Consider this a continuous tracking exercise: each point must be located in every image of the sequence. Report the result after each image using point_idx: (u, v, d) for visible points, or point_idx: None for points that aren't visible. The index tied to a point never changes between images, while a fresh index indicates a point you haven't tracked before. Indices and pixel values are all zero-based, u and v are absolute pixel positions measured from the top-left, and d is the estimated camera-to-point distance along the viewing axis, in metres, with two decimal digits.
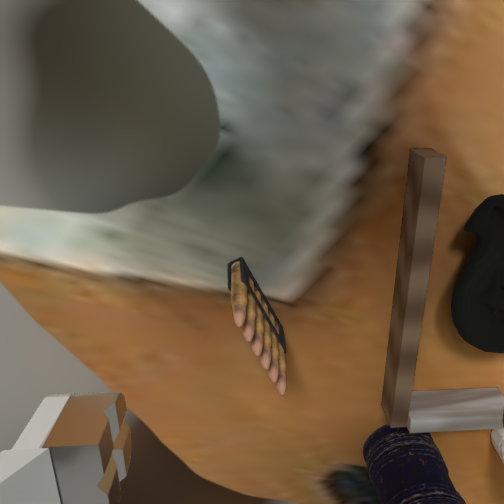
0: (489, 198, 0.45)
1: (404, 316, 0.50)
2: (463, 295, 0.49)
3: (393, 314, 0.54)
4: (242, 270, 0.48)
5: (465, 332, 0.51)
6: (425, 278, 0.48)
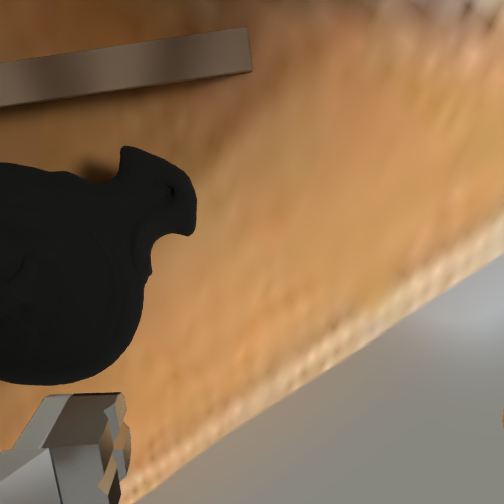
0: (187, 177, 0.26)
1: None
2: None
3: None
4: None
5: None
6: (7, 98, 0.24)
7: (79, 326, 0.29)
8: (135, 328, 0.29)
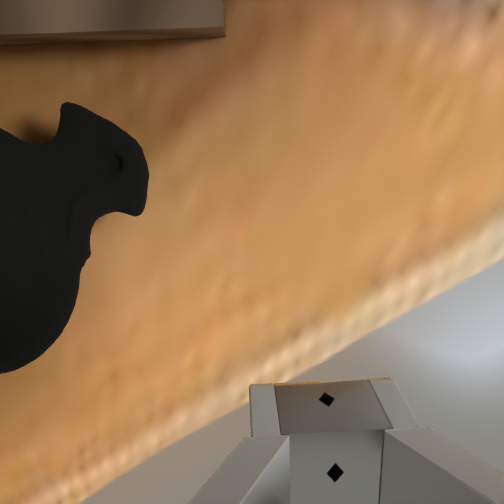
0: (139, 147, 0.22)
1: None
2: None
3: None
4: None
5: None
6: None
7: (2, 311, 0.25)
8: (66, 318, 0.25)
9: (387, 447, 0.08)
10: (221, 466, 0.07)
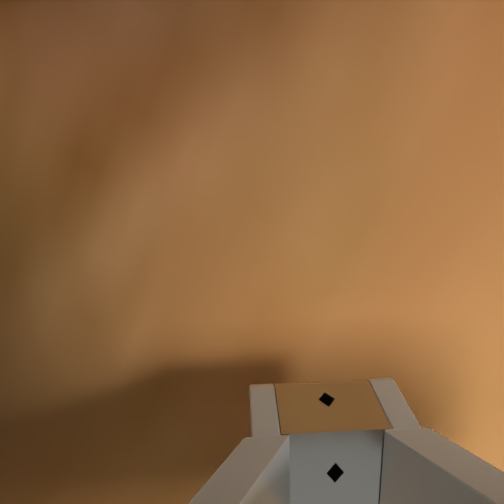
0: None
1: None
2: None
3: None
4: None
5: None
6: None
7: None
8: None
9: (387, 447, 0.08)
10: (221, 466, 0.07)
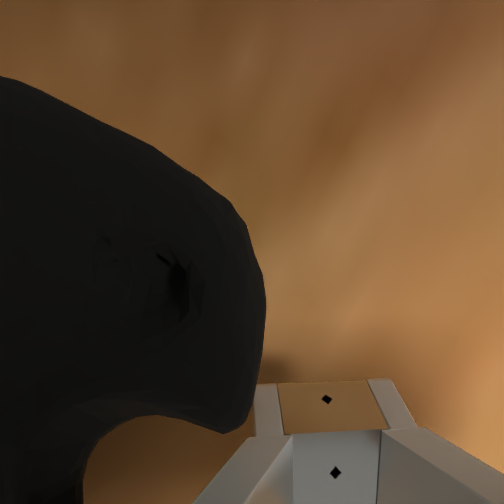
0: (241, 226, 0.06)
1: None
2: None
3: None
4: None
5: None
6: None
7: None
8: None
9: (384, 447, 0.08)
10: (224, 466, 0.07)
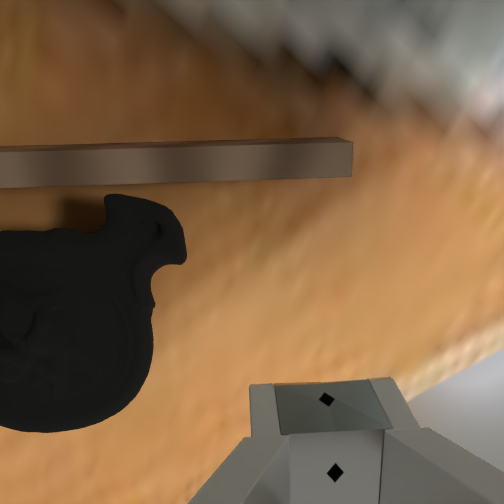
0: (169, 211, 0.28)
1: (46, 150, 0.26)
2: None
3: (35, 146, 0.29)
4: None
5: None
6: (132, 178, 0.27)
7: (98, 367, 0.31)
8: (150, 359, 0.31)
9: (387, 447, 0.08)
10: (221, 466, 0.07)
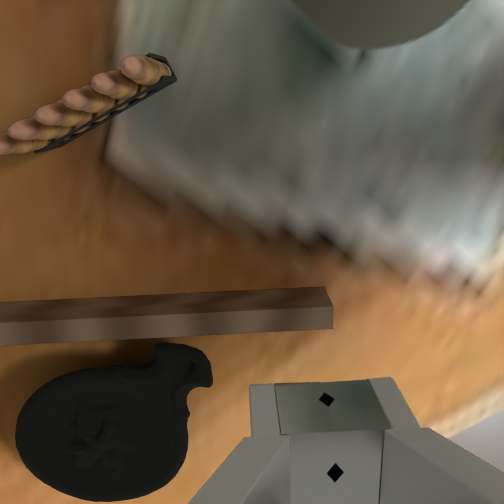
0: (200, 352, 0.38)
1: (114, 316, 0.37)
2: (76, 384, 0.38)
3: (102, 300, 0.40)
4: (169, 79, 0.32)
5: (28, 411, 0.38)
6: (174, 333, 0.37)
7: (147, 455, 0.42)
8: (186, 451, 0.41)
9: (387, 447, 0.08)
10: (221, 466, 0.07)
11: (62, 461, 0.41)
